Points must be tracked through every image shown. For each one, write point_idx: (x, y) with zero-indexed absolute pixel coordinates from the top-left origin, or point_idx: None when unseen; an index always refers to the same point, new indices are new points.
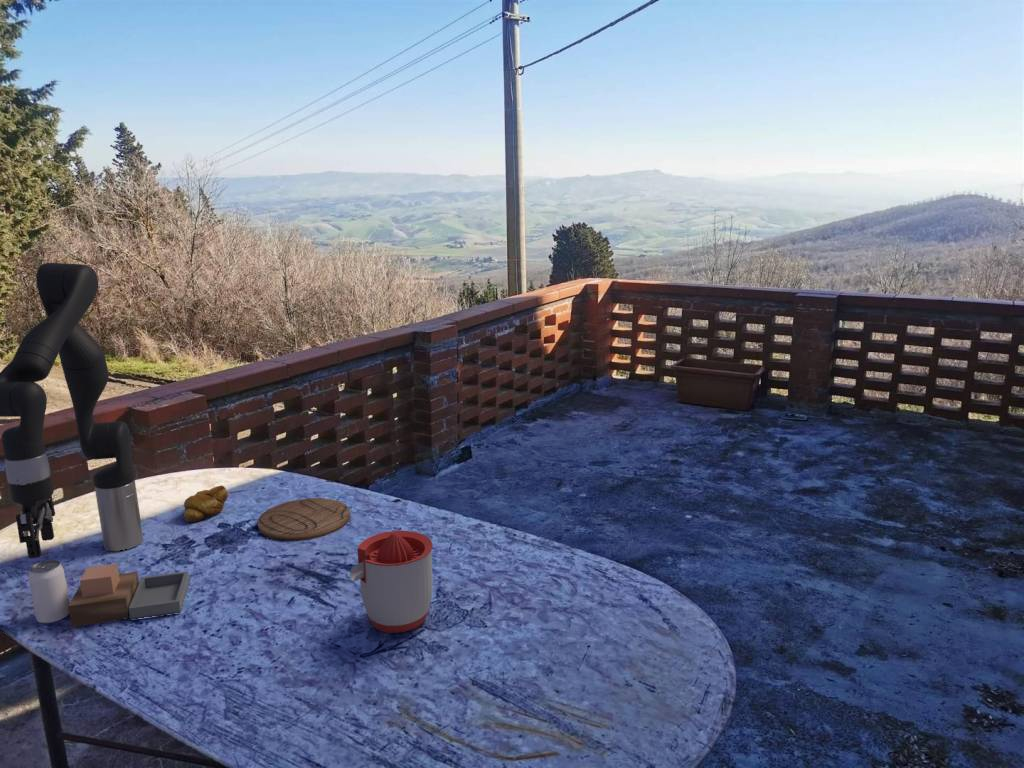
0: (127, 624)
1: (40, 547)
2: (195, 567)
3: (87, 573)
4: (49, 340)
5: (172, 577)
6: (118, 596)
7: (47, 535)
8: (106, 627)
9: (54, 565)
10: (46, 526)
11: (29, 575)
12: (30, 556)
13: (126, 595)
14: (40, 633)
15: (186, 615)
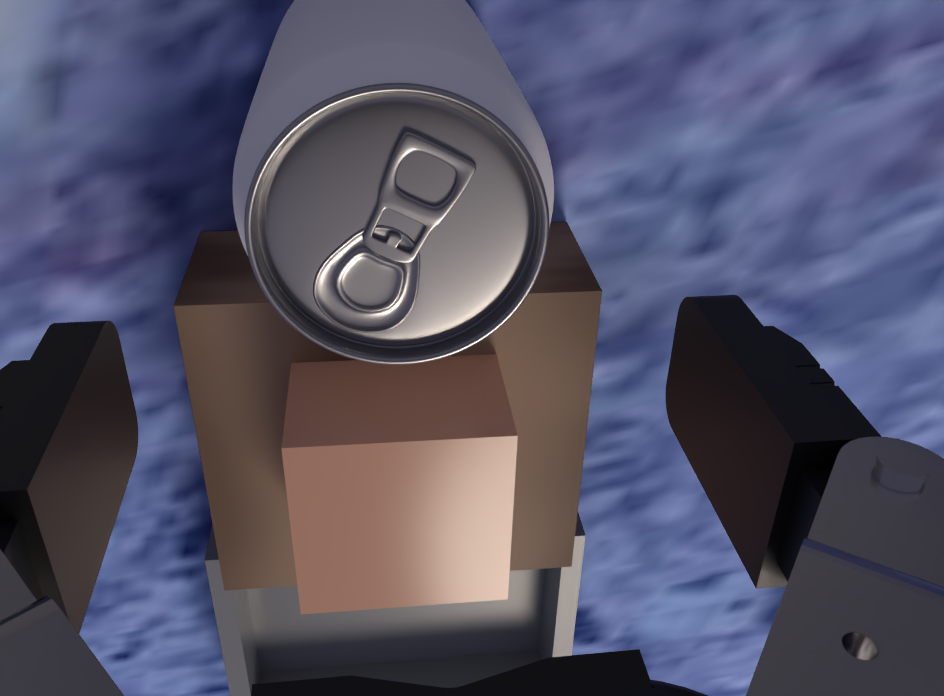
0: (183, 498)
1: (112, 526)
2: (709, 640)
3: (401, 464)
4: None
5: (550, 640)
6: (254, 552)
7: (693, 398)
8: (167, 413)
9: (419, 307)
10: (755, 502)
11: (314, 77)
12: (9, 374)
13: (258, 586)
14: (151, 49)
15: (224, 693)
